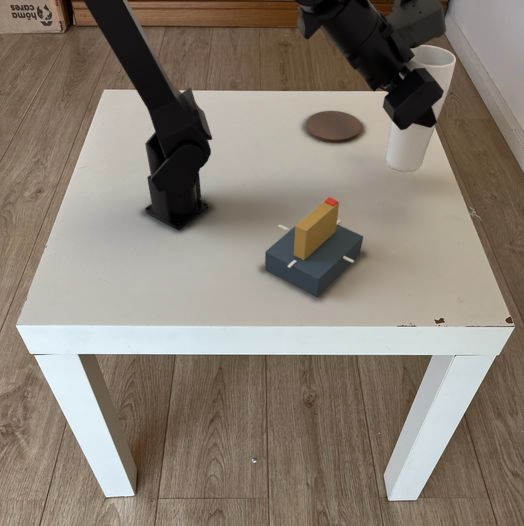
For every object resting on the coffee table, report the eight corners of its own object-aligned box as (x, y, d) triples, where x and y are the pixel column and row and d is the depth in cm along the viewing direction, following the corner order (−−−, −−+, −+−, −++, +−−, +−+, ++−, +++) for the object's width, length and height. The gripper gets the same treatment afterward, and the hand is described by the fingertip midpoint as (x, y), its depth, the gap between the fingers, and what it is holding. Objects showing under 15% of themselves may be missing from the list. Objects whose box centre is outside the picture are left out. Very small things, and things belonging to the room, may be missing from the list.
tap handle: (304, 260, 70) (306, 229, 67) (293, 255, 71) (295, 224, 67) (335, 231, 74) (340, 200, 70) (325, 226, 75) (328, 195, 71)
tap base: (325, 305, 70) (327, 286, 67) (252, 266, 74) (251, 247, 72) (373, 256, 76) (377, 237, 73) (302, 223, 80) (304, 204, 77)
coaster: (341, 149, 92) (341, 145, 91) (295, 130, 95) (295, 126, 95) (371, 125, 96) (371, 122, 96) (325, 108, 100) (326, 105, 99)
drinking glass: (387, 147, 87) (411, 40, 75) (432, 159, 85) (463, 52, 74) (372, 168, 83) (394, 58, 71) (418, 182, 81) (448, 71, 69)
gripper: (449, 4, 59) (510, 100, 69) (384, -55, 70) (445, 35, 81) (363, 88, 64) (432, 166, 74) (315, 20, 75) (381, 96, 85)
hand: (423, 112), depth 78 cm, fingers closed on drinking glass, 6 cm apart
